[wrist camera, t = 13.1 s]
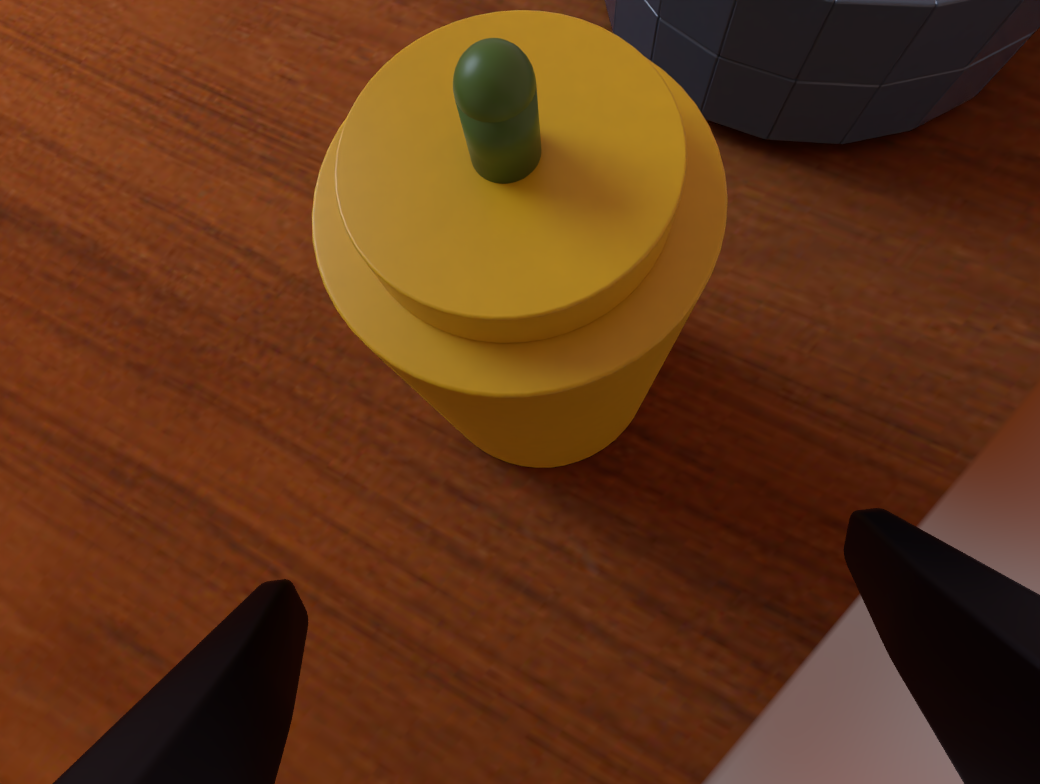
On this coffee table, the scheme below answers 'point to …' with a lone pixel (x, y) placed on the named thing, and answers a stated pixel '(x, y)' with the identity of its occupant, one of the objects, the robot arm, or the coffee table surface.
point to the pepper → (522, 227)
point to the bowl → (826, 59)
